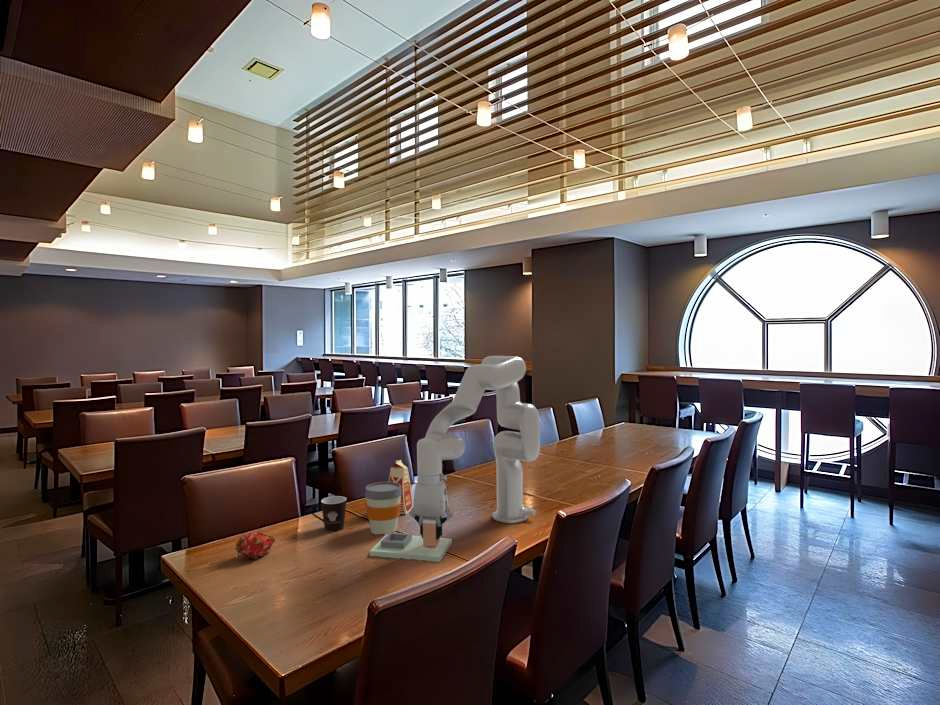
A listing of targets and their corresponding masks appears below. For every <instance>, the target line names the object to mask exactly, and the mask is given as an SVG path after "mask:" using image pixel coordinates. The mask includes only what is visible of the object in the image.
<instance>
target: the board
mask: <svg viewBox="0 0 940 705" xmlns="http://www.w3.org/2000/svg"><path fill="white" fill-rule="evenodd" d="M439 540H440V541H439V543H438V544H437V546H436V547H434V546H423V539H422V535H420V536H419V535H413V534H412V533H400V532H393V533H389V534H384V536H383V537H382V538H381V539H380V540H379V541H378V542H377V543H376V544H375V545H374V546H373V547H371V549H370V550H369V557H377V556H379V557H380V558H388V557H389V558H390V559H391V558H392V559H400V558H405V559H404V560H411V559H418V560H417V561H422V560H426V561H425V562H435V563H440V562H441V561H442V559H443V557H444V556H445V555H446V553H447V551H448V550H449V548H450V546H451V545H452V542H453V541H452V538H445V537H440V538H439ZM389 558H388V559H389Z"/></svg>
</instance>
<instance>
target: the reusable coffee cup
mask: <svg viewBox="0 0 940 705" xmlns="http://www.w3.org/2000/svg"><path fill="white" fill-rule="evenodd" d="M364 491H365V492H364V497H365V499H366V500H365V501H366V502H365V509H366V515H367V516H366V517H367V518H368V522H369V528H370V533H372V532H373V533H372V534H374V533H376V534H375V535H378V534H384V535H386V534H387V533H391V532H393V533H395V532H396V531H397V530H396V529H398V523H399V517H400V508H401V501H400V497H401V494H402V492H401V485H400V484H399V483H395V482H388V481H377V482H373V483H370V484H367V485H366V486H365V490H364ZM394 531H395V532H394Z"/></svg>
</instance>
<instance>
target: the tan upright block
mask: <svg viewBox="0 0 940 705" xmlns="http://www.w3.org/2000/svg"><path fill="white" fill-rule="evenodd" d="M436 526H437V521H436V517H430V516H426V517H425V518H424V519H423V546H434V547H436V546H437V544H438V543H439V541H440V540H439V539H438V540H437V539H436Z"/></svg>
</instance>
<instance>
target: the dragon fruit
mask: <svg viewBox="0 0 940 705" xmlns="http://www.w3.org/2000/svg"><path fill="white" fill-rule="evenodd" d="M275 540H276V539H275V538H274V537H273V536H272V535H271V534H268V533H267V534H266V533H264V534H263V530H259V531H257V532H255V531H254V530H253V531H251V532H250V533H243V534H242V536H241V537H240V538H239V539H238V540H237V542H236V543H235V548H234V550H235V551H236V552H237V557H239V558H243V557H245V559H246V560H250V558H251V559H253V560H257V559H258V557H266V556H268V554H270V552H269V551H270V550H271V548H272V546H273V545H274V543H275ZM265 555H266V556H265Z"/></svg>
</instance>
